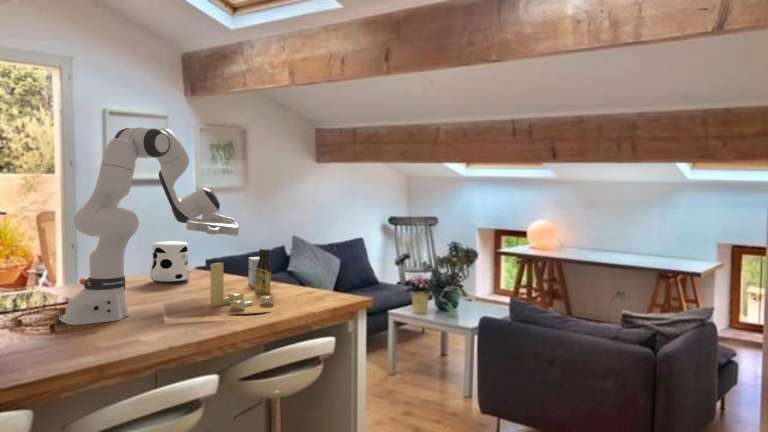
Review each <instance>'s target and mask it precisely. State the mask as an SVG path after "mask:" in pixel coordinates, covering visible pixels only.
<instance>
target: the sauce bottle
mask: <svg viewBox="0 0 768 432" xmlns="http://www.w3.org/2000/svg"><path fill="white" fill-rule="evenodd" d="M258 251H259V252H258V253H259V257H260V258H259V261H258V264H257V267H256V279H255V287H254V292H255V294H258V295H259V294H260V295H261V294H262V295H265V294H270V293H271V282H272V281H271V279H272V265H271V262H270V259H269V258H270V257H269V254H270V248H265V247H262V248H259V249H258Z"/></svg>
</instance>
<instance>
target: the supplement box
mask: <svg viewBox="0 0 768 432" xmlns="http://www.w3.org/2000/svg"><path fill="white" fill-rule="evenodd" d="M259 258H260V256H250V257H248V285H249V286H251V287H252V288H255V279H256V267H257V264H258V261H259Z"/></svg>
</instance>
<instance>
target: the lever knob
mask: <svg viewBox="0 0 768 432" xmlns="http://www.w3.org/2000/svg"><path fill="white" fill-rule="evenodd" d="M234 300H242V301H244V302H245V300H244V293H242V292H231V293H228V294H227V296H224V262H214V263H210V307H212V308H216V307H220V306H225V305H230V302H231V301H234Z"/></svg>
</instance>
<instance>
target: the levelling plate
mask: <svg viewBox="0 0 768 432" xmlns="http://www.w3.org/2000/svg"><path fill="white" fill-rule="evenodd" d="M229 306H230V309H229V310H230V311H231V312H241V311H244V310H245V307H248V306H249V307H250V306H254V301H251V300H250V301H245V300H244V301H242V300H234V301H231V302H230V304H229ZM259 306H261V307H270V306H274V296H272V295H261V296H260V297H259ZM270 313H271V311H267V312H265V311H263V312H249V313H248V312H247V313H246V312H245V313H233V314H228V316H232V317H233V316H235V317H246V316H247V317H248V316H249V317H251V316H253V317H254V316H260V315H261V316H262V315H266V314H270Z"/></svg>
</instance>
